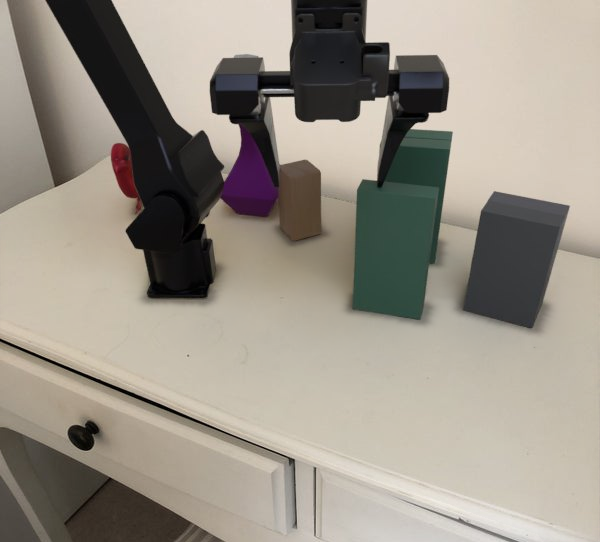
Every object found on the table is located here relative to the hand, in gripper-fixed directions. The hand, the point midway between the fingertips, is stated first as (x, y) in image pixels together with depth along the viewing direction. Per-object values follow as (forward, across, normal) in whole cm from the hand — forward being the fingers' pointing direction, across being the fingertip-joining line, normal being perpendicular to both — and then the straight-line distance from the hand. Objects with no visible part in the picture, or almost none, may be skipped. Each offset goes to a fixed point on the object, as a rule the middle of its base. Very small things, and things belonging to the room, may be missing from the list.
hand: (328, 185), depth 58 cm
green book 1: (+13, +9, +10) cm, 19 cm away
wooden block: (+13, -4, +16) cm, 21 cm away
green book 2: (+13, +6, 0) cm, 14 cm away
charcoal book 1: (+13, +18, -1) cm, 22 cm away
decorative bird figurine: (+13, -25, +24) cm, 37 cm away
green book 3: (+13, +9, +12) cm, 20 cm away
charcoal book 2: (+13, +18, +1) cm, 23 cm away
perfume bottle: (+13, -10, +22) cm, 27 cm away
